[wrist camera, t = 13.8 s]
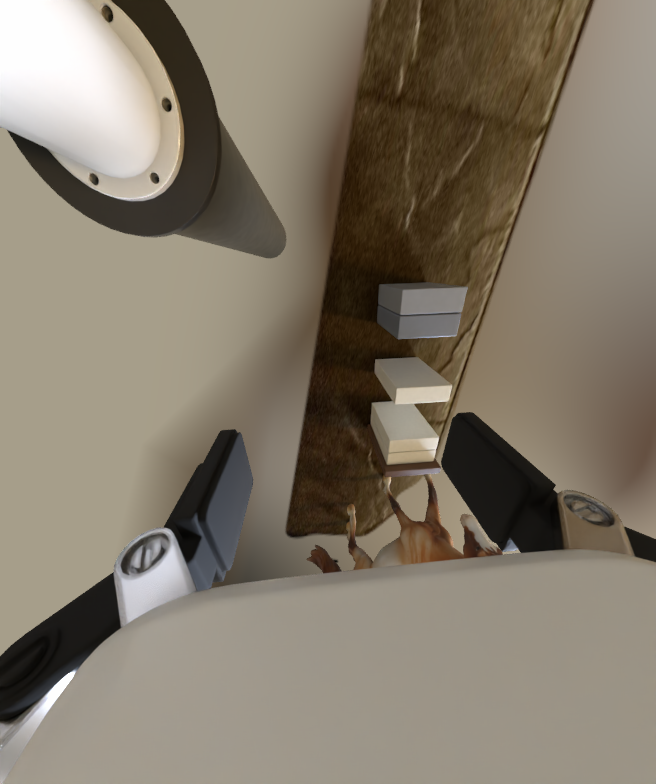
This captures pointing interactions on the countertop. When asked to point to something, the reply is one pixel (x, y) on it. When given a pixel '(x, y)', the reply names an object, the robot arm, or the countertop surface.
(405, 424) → the white books
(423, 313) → the grey books
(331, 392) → the countertop surface
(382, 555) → the horse figurine
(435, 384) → the white book
